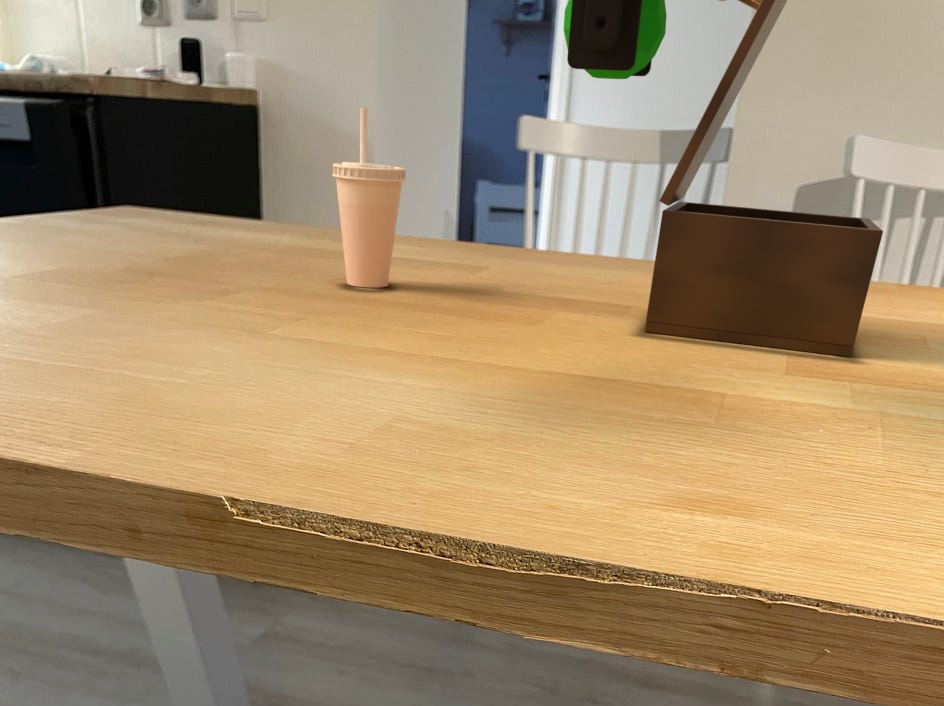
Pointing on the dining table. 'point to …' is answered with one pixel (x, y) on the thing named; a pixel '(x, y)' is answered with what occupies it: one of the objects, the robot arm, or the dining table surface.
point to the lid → (723, 96)
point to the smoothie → (368, 215)
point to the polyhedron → (647, 41)
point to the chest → (762, 277)
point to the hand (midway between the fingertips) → (610, 67)
